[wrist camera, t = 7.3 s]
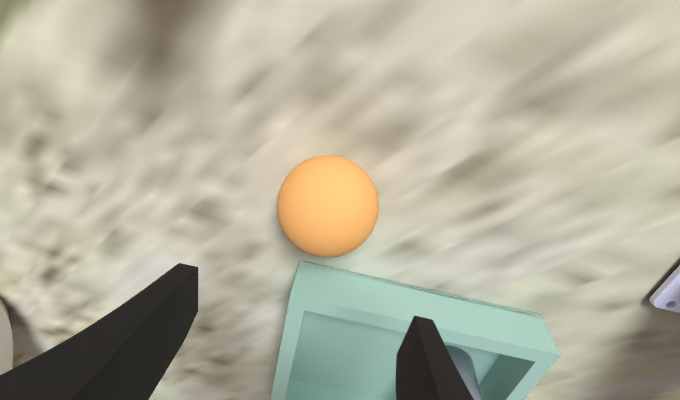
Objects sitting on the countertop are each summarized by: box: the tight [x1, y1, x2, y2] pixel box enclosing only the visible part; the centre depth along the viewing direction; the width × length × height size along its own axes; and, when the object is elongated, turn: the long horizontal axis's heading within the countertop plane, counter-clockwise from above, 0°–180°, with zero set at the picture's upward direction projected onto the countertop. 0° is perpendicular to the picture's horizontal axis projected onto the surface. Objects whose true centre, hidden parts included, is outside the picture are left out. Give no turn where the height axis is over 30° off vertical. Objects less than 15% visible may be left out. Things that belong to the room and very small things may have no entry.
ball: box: [277, 155, 379, 257], centre depth 18 cm, size 5×5×5 cm
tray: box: [270, 261, 561, 400], centre depth 25 cm, size 16×13×3 cm
